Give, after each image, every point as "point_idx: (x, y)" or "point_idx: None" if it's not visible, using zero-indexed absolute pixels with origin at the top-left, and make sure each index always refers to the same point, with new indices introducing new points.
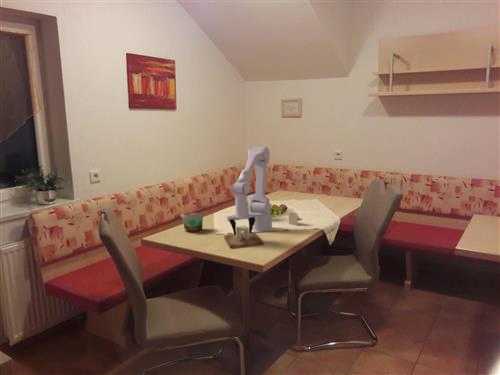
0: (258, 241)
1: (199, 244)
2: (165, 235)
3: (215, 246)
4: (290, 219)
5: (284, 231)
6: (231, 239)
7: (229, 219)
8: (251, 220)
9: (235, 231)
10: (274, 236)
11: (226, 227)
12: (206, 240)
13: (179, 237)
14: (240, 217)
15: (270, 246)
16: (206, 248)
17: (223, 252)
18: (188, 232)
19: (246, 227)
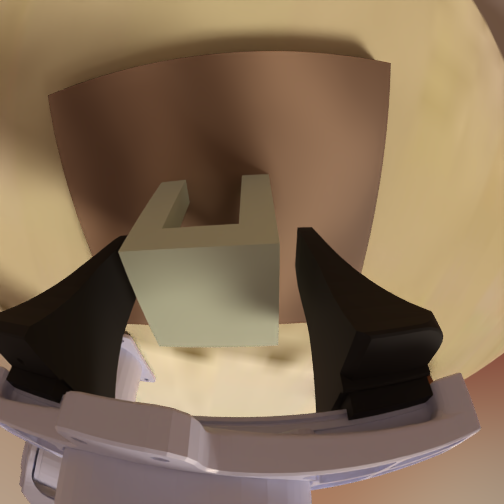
0: (81, 99)
1: (492, 241)
2: (489, 353)
3: (454, 168)
4: (10, 367)
5: (5, 298)
6: (331, 222)
7: (449, 403)
8: (18, 333)
9: (316, 245)
10: (19, 247)
11: (274, 405)
12: (440, 290)
13: (481, 337)
14: (230, 465)
15: (28, 48)
16: (500, 159)
17: (439, 13)
18: (429, 375)
19: (149, 291)
